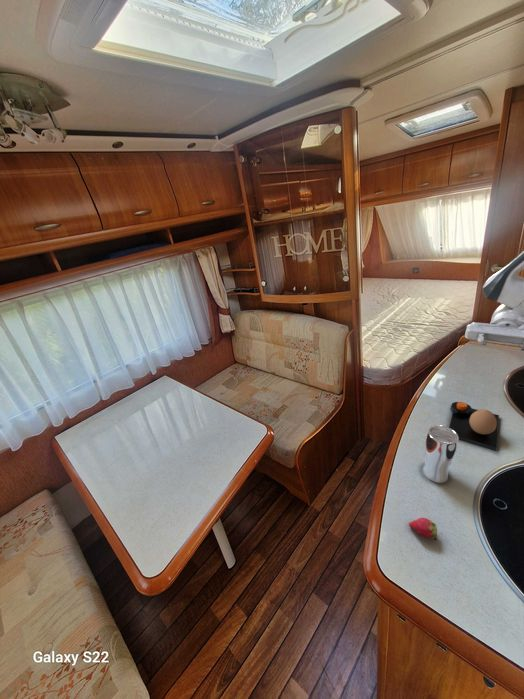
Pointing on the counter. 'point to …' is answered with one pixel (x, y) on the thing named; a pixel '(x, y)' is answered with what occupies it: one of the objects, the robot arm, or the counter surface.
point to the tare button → (461, 406)
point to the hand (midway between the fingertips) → (503, 345)
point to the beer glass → (439, 452)
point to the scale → (466, 432)
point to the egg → (483, 421)
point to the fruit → (424, 528)
